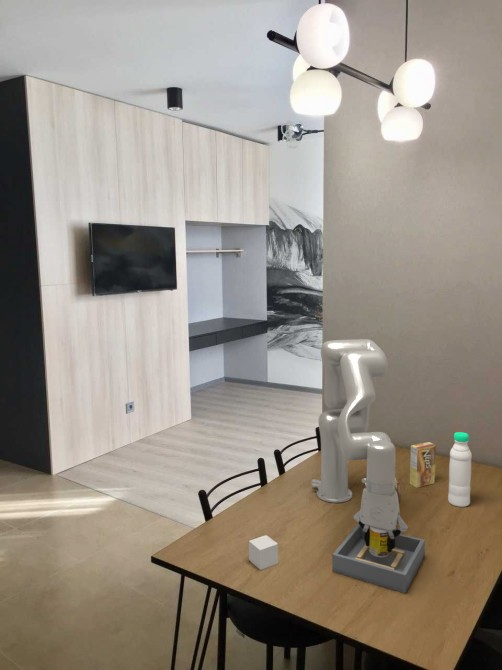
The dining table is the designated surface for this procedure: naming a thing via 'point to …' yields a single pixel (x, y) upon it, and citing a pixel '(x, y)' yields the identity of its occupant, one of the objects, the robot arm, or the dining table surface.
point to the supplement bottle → (378, 542)
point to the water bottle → (460, 471)
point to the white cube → (263, 552)
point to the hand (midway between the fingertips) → (379, 546)
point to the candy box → (422, 464)
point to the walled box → (379, 560)
